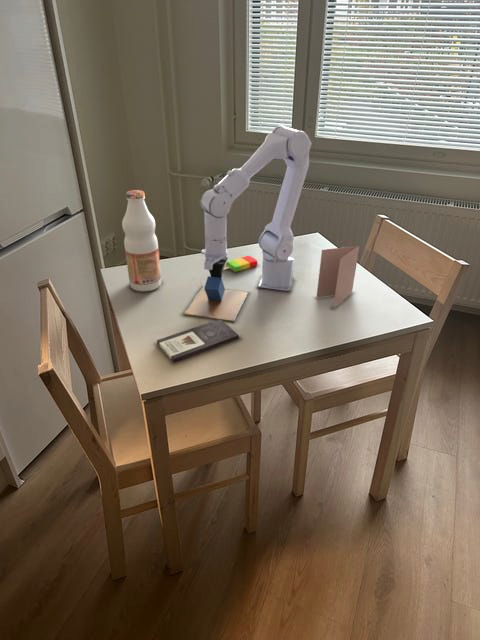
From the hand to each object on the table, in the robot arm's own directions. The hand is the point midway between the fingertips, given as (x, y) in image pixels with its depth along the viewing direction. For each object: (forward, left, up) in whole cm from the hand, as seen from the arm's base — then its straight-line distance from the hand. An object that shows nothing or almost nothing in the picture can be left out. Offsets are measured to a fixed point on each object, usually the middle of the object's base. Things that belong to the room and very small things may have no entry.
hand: (216, 282), depth 128 cm
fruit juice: (+23, -2, -5) cm, 24 cm away
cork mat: (-1, +3, -5) cm, 6 cm away
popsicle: (0, -20, -5) cm, 21 cm away
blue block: (0, 0, -4) cm, 4 cm away
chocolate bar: (-2, +22, -5) cm, 22 cm away
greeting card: (-34, -8, -5) cm, 35 cm away
